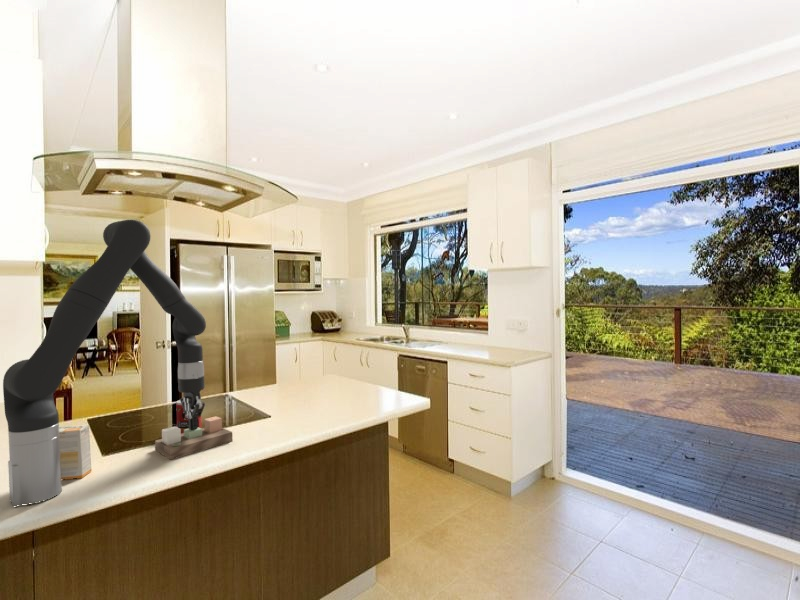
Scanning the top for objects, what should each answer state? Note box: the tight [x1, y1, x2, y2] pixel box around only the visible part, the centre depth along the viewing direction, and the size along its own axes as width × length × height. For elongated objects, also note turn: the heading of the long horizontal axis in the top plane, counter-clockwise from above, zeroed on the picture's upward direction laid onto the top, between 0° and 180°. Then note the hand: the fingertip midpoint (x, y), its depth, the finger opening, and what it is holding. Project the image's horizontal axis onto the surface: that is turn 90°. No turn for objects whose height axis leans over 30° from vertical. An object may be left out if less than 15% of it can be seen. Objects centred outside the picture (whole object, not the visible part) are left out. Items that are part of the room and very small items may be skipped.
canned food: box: [175, 399, 202, 434], centre depth 148 cm, size 8×8×11 cm
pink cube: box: [203, 415, 223, 433], centre depth 139 cm, size 4×4×4 cm
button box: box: [154, 427, 233, 460], centre depth 133 cm, size 19×12×4 cm, turn 139°
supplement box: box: [59, 424, 93, 480], centre depth 112 cm, size 8×5×13 cm, turn 99°
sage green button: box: [184, 427, 202, 439], centre depth 134 cm, size 4×4×4 cm
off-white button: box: [161, 425, 181, 445], centre depth 129 cm, size 4×4×4 cm
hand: (193, 429), depth 134 cm, fingers closed
